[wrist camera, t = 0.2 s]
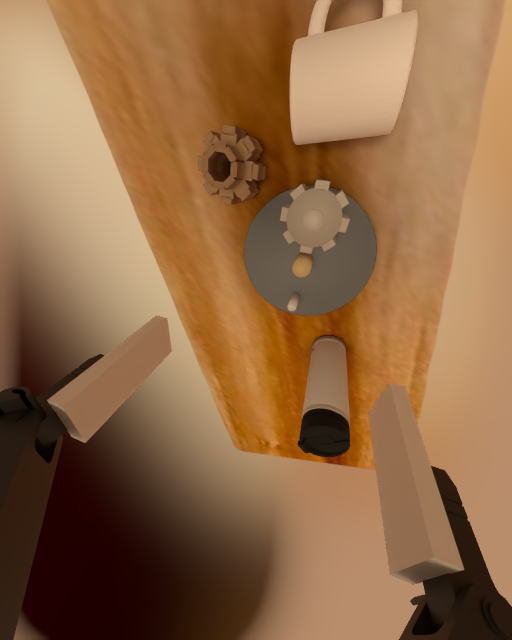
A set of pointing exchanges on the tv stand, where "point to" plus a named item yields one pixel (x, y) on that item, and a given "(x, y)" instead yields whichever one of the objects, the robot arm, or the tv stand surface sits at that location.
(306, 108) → the mug
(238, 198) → the oak gear
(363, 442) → the tv stand surface
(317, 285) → the carrier
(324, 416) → the travel mug
